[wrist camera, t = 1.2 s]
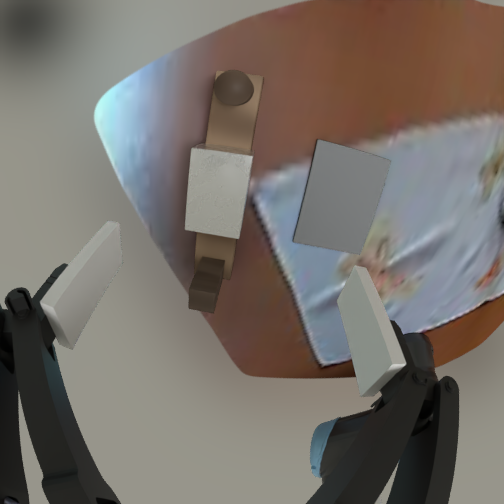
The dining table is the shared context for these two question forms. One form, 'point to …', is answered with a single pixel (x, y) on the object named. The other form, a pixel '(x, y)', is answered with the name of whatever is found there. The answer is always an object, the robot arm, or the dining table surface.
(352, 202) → the grey mat
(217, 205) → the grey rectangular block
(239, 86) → the plane body
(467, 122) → the dining table surface
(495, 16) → the dining table surface
